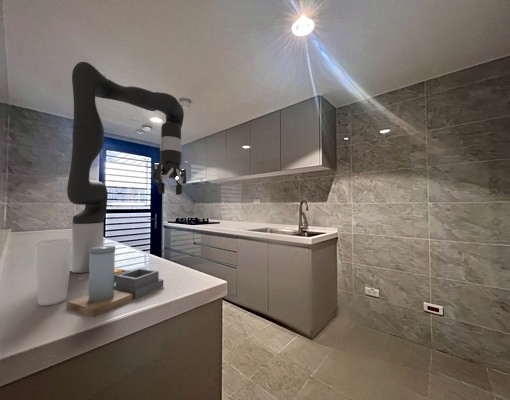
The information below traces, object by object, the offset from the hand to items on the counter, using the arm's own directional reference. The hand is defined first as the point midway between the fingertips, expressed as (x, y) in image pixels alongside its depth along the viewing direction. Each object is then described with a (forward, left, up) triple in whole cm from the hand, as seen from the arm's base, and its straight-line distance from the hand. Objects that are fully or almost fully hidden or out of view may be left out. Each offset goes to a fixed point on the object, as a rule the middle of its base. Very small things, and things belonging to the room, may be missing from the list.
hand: (170, 194), depth 81 cm
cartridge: (+6, -28, -27) cm, 39 cm away
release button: (-4, -18, -26) cm, 32 cm away
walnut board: (+6, -28, -28) cm, 40 cm away
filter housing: (+1, -18, -28) cm, 33 cm away
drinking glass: (-6, -32, -28) cm, 43 cm away
